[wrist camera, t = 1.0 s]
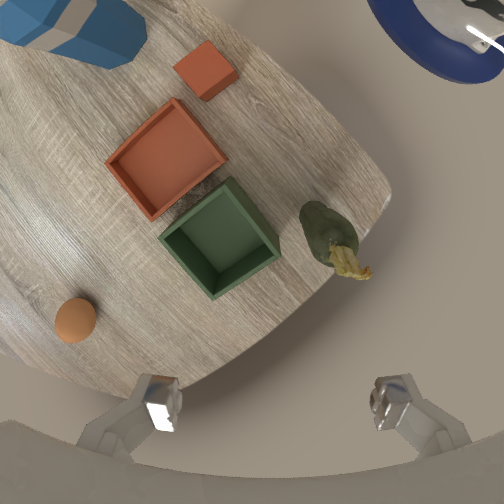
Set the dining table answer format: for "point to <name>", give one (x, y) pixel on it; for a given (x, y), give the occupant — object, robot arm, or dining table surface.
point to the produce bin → (221, 240)
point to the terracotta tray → (165, 159)
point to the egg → (75, 320)
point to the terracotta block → (206, 71)
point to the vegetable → (332, 239)
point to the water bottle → (75, 29)
